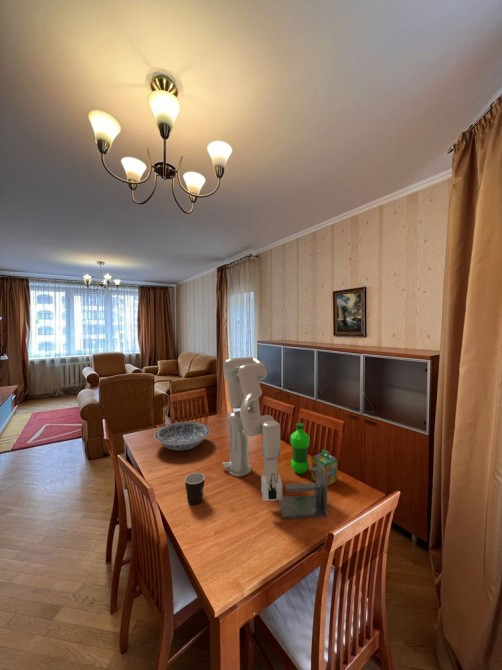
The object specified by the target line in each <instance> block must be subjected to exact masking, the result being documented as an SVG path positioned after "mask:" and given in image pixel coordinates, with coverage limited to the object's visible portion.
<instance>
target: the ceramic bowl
mask: <svg viewBox="0 0 502 670" xmlns="http://www.w3.org/2000/svg"><path fill="white" fill-rule="evenodd" d="M210 431H211V430H210V428H209V426H207V425H206V424H204V423H201V422H197V421H179V422H174V423H173V422H172V423H169V424H166V425H163V426H162V427H159V428H158V429H157V430H156V431H155V432H154V434H153V436H154V440H156V441H157V442H159V443H160V444H161V445H162V446H163V447H164V448H166V449H168V450H171V451H179V452H181V451H182V452H183V451H188V450H191V449H194V448H196V447H197V446H199V445H200V444H201V443H202V442H203V441H204V440H205V439H206V438H207V437H208V436H209V434H210Z"/></svg>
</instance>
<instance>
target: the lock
mask: <svg viewBox="0 0 502 670" xmlns="http://www.w3.org/2000/svg"><path fill="white" fill-rule="evenodd" d="M260 477H261V479H260V483H261V484H260V485H261V486H260V487H261V488H260V490H261V493H262V501H263V502H264V501H265V502H266V501H279V500H282V497H283V482H282V478H281V474H279V473H278V482H277V483H276V489H277V498H276V499H269V483H266V481H265V476H264V474H261V475H260ZM270 481H272V480H270ZM270 484H271V486H272V483H270Z"/></svg>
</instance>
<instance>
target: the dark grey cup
mask: <svg viewBox="0 0 502 670" xmlns="http://www.w3.org/2000/svg"><path fill="white" fill-rule="evenodd" d="M184 484H185V491H186V498H187V503H188V504H189V505H190V506H196V505H199V504H201V503H202V502H203V498H204V489H205V488H204V487H205V475H204V474H203V473H201V472H193V473H189V474H188V475H186V476H185V478H184Z"/></svg>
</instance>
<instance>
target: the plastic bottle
mask: <svg viewBox="0 0 502 670" xmlns="http://www.w3.org/2000/svg"><path fill="white" fill-rule="evenodd" d="M295 429H296V430H295V431H294V432H292V433H291V434H290V440H289V442H290V445H291V446H292V458H291V461H290V467H291V469H292V470H293V471H295V473H296V474H298V475H299V474H300V475H301V474H305V473H306V472H307V471H308V470H309V469H310V461H309V459H308V447H310V443H311V442H310V440H311V438H310V436H309V434H308V433H306V431H304V429H305V423H302V422H297V423H295Z"/></svg>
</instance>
